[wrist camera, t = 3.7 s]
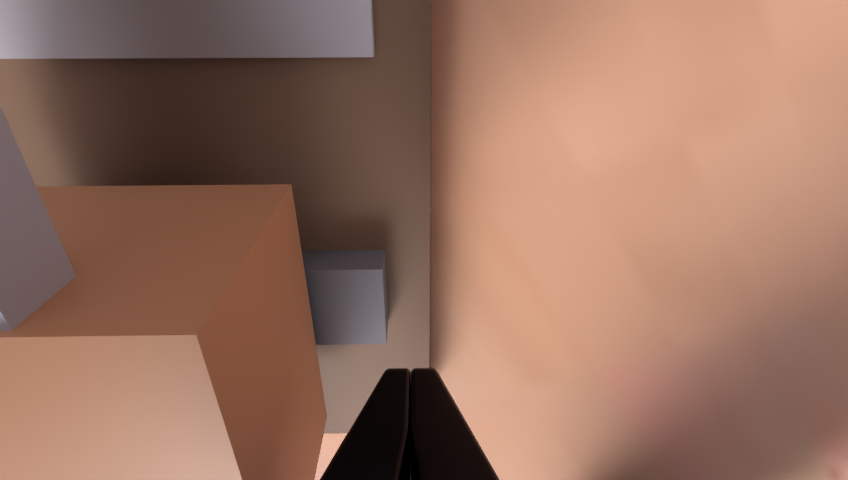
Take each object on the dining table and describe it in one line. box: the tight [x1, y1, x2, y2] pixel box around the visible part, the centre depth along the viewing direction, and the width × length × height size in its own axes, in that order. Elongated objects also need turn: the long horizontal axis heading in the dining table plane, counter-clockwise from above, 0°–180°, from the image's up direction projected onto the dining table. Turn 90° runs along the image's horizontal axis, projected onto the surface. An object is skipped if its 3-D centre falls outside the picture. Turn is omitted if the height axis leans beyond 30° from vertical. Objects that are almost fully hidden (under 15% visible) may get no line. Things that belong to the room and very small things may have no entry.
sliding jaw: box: [0, 107, 327, 480], centre depth 7 cm, size 5×10×4 cm, turn 0°
